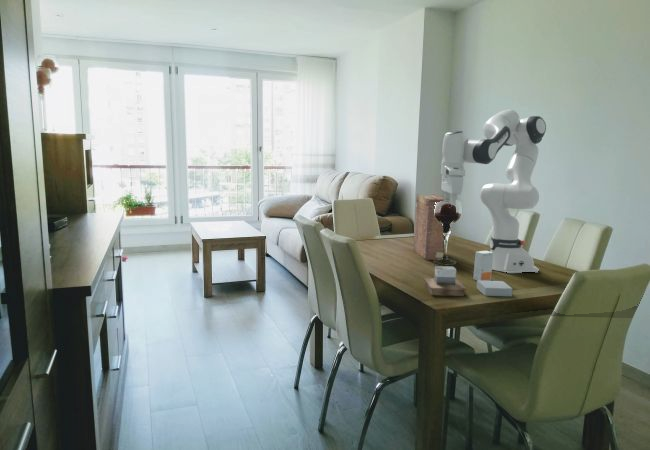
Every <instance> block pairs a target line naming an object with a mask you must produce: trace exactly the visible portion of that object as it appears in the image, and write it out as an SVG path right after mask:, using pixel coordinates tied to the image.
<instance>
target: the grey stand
mask: <svg viewBox="0 0 650 450" xmlns="http://www.w3.org/2000/svg"><path fill="white" fill-rule="evenodd" d="M476 289H477V290H479V292H480V293H482V295H484V296H487V297H488V296H489V297H513V287H511V286H510V285H509V284H507V283H506V282H505V281H503V280H490V281H479V280H476Z"/></svg>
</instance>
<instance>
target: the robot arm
mask: <svg viewBox="0 0 650 450" xmlns="http://www.w3.org/2000/svg"><path fill="white" fill-rule="evenodd" d="M546 129H547V124H546V121H545V119H544V118H543V117H542V116H539V115H538V116H537V115H533V116H529V117H524V118H520V115H519V113H518V112H517V111H516V110H514V109H508V108H507V109H504V110H501V111H499V112H498V113H496V114H494V115H493V116H491V117H490V118H488V119H487V120H486V121H485V122H484V124H483V135H484V137H485V139H469V138H467V137H466V136H465V132H464V131H463V130H451V131H450V130H449V131H448V132H446V133H444V137H443V141H442V149H441V154H442V159H441V165H440V167H441V168H440V175H441V186H440V188H441V191H443V192H444V193H443V195H444V198H445V202H448V203H450V205H452V206H456V202H457V198H458V195H461V194H462V192H463V187H464V186H463V185H464V177H465V175H466V170H465V169H464V163H468V164H480V165H489V164H490V163H492V162H493V161H494V160H495V158H496V156H497V154H498V153H499V151H500V150H501V149H502V148H503V147H504V146H505V147H509V146H510V147H511V146H514V145H515V150H514V151H513V154H511V155H512V156H511V158H510V159H509V162H508V164H507V166H506V169H505V176H506V178H507V179H508V181H510V182H511V183H507V182H506V183H501V182H492V183H486V184H484V185H482V188H481V190H480V193H479V198H480V201H481V202H482V204H483V205H485V206H486V207H487V209H488V211H489V213H490V215H491V218H492V234H491V238H490V244H489V245H490V251H489V252H492V253H493V262H492V271H493V270H494V271H498V272H504V273H506V272H507V274H523V273H522V272H535V273H539V272H538V271H540V269H539V268H538V267H537V266H535V262H534V258H533V256H532V255H531V254H530V253H529V252H528V251H526V250H525V249H524V248H523V247H522V246H526V244H527V242H526V241H525V240H521V239H519V233H520V232H519V230H520V223H519V221H518V219H517V218H516V217H514V216H513V215H511V213H510V212H509V209H514V210H529V209H534V208H535V207H536V206H537V205H538V203H539V201H540V200H539V199H540V194H539V191H538V189H537V188H536V187H535V186H534V184H532V182H531V178H532V175H533V171H534V169H535V166H536V164H537V160H538V156H539V146H537V144H539V143H541V142H542V139H543V137H544V136H545V133H546V131H547V130H546ZM450 197H451V198H450Z"/></svg>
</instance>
